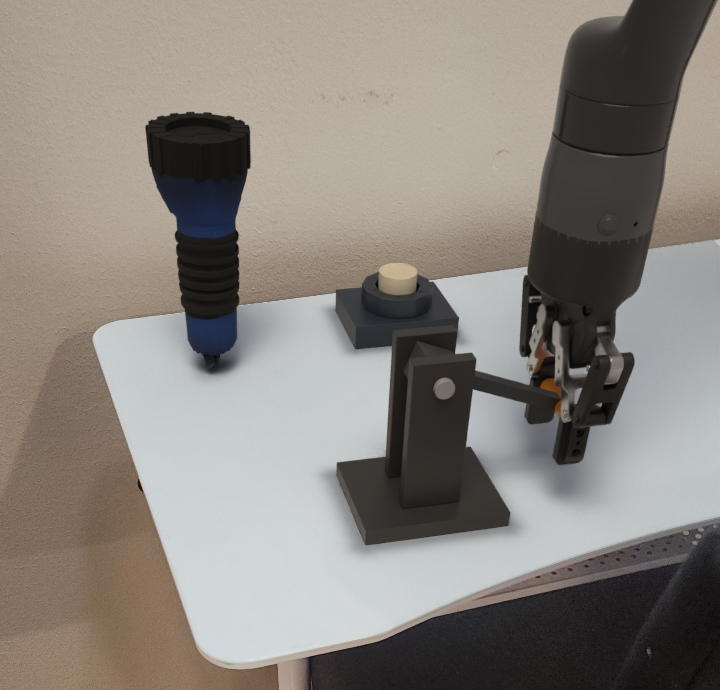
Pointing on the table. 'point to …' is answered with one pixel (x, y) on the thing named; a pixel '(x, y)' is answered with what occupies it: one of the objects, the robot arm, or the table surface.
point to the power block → (390, 311)
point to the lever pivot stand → (424, 451)
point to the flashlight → (203, 217)
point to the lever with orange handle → (501, 383)
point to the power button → (397, 279)
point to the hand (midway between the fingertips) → (552, 439)
